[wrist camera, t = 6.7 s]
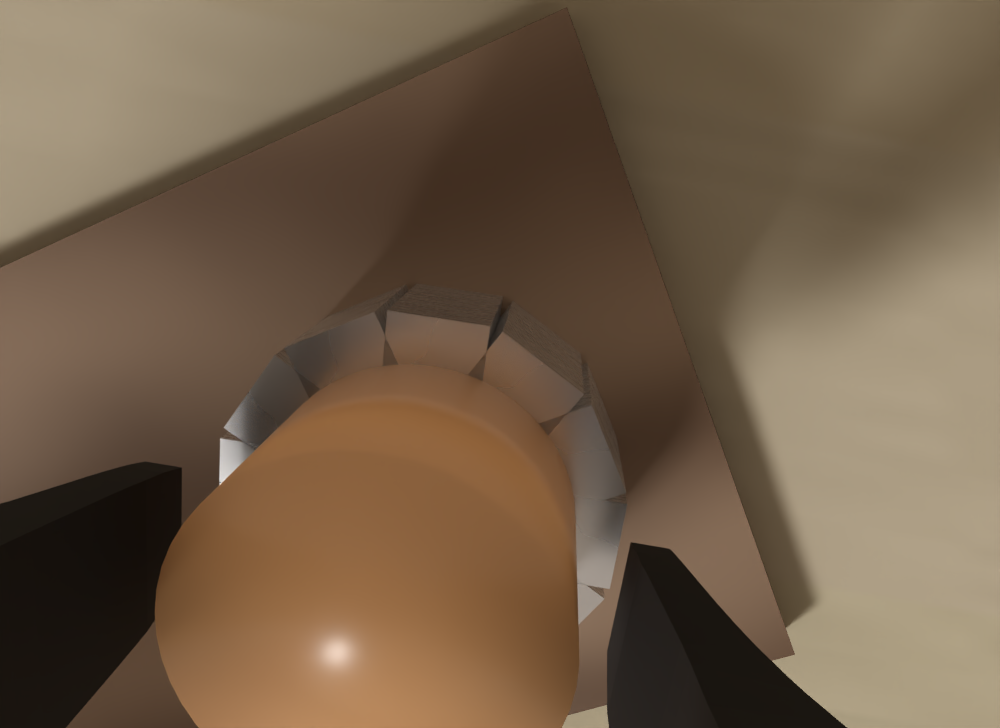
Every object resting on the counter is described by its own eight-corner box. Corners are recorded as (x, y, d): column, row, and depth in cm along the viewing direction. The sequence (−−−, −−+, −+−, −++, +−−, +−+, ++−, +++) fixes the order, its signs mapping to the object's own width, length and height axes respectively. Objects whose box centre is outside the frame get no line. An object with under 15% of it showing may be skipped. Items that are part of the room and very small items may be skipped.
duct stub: (660, 550, 15) (678, 623, 13) (360, 641, 17) (326, 723, 14) (536, 232, 14) (530, 249, 11) (213, 361, 15) (147, 401, 13)
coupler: (596, 353, 14) (617, 492, 8) (550, 596, 16) (542, 850, 10) (317, 309, 14) (154, 415, 9) (300, 553, 16) (155, 777, 10)
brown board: (784, 630, 17) (794, 654, 16) (74, 825, 20) (55, 852, 20) (566, 15, 13) (566, 7, 13) (-233, 380, 17) (-270, 391, 16)
